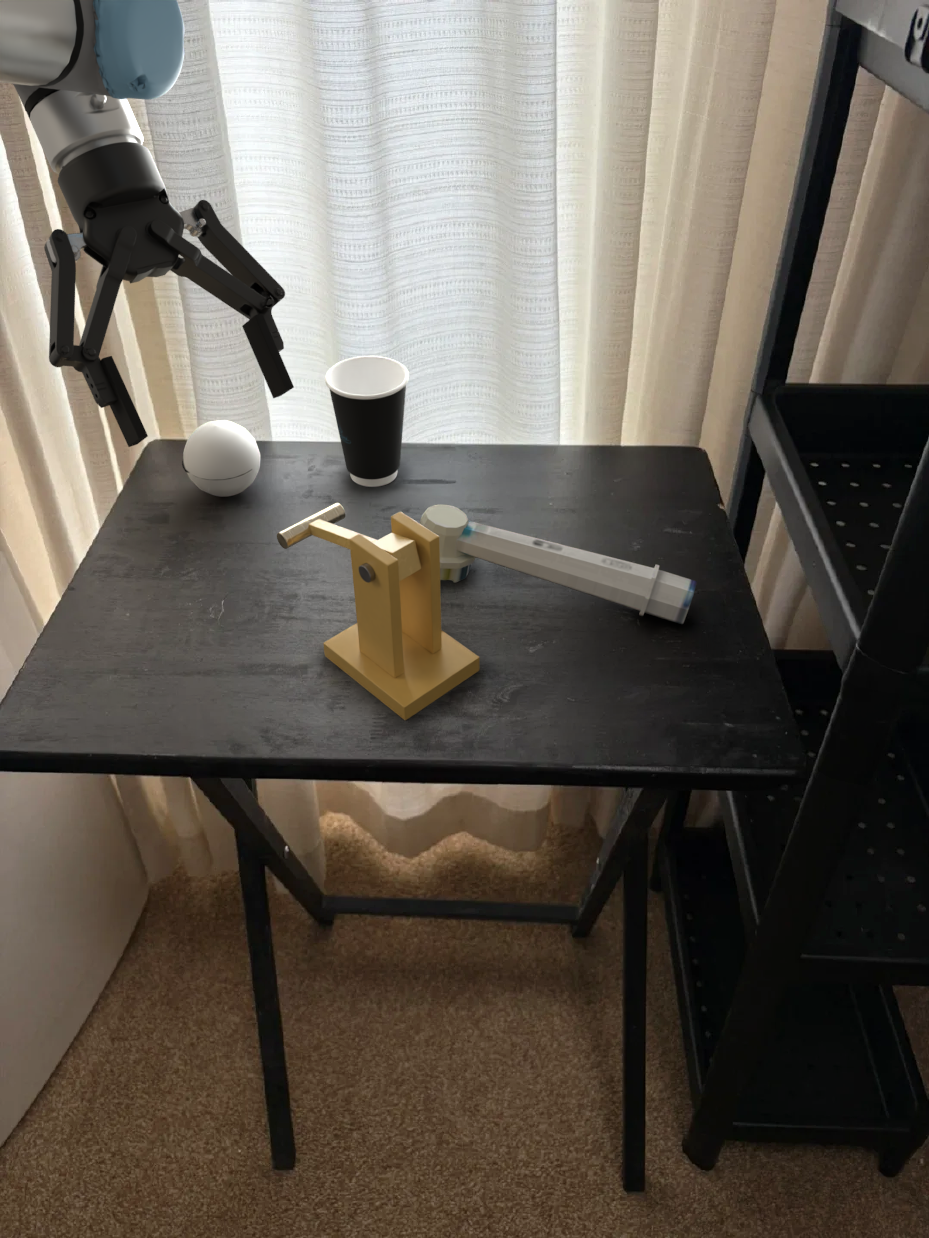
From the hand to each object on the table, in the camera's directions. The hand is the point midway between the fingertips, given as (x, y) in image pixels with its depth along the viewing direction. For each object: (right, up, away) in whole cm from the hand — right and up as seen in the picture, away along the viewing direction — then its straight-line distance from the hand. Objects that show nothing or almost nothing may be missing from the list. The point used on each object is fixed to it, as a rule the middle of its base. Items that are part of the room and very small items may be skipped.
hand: (214, 416), depth 85 cm
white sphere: (-3, -5, +18) cm, 19 cm away
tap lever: (+12, -11, -3) cm, 17 cm away
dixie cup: (+11, -2, +21) cm, 24 cm away
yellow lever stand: (+15, -20, 0) cm, 25 cm away
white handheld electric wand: (+27, -14, +7) cm, 32 cm away
